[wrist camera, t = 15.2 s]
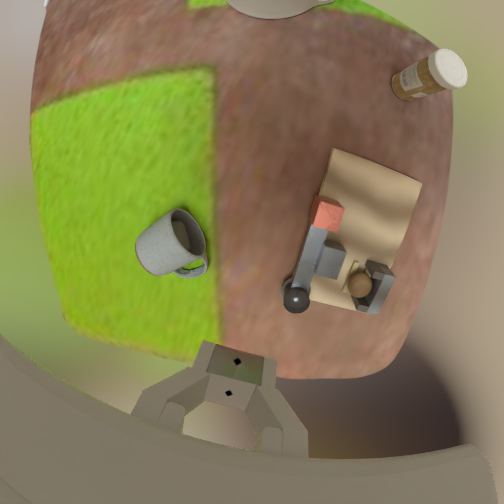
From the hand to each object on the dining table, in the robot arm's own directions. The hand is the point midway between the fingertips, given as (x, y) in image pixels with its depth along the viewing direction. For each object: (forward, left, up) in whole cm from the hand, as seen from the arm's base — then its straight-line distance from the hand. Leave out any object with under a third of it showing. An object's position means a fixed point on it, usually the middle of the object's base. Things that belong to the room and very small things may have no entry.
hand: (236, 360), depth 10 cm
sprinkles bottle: (-23, +14, -29) cm, 40 cm away
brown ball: (+6, +15, -27) cm, 32 cm away
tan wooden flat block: (+1, +13, -29) cm, 32 cm away
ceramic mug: (+9, -11, -29) cm, 33 cm away
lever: (+5, +8, -27) cm, 29 cm away
